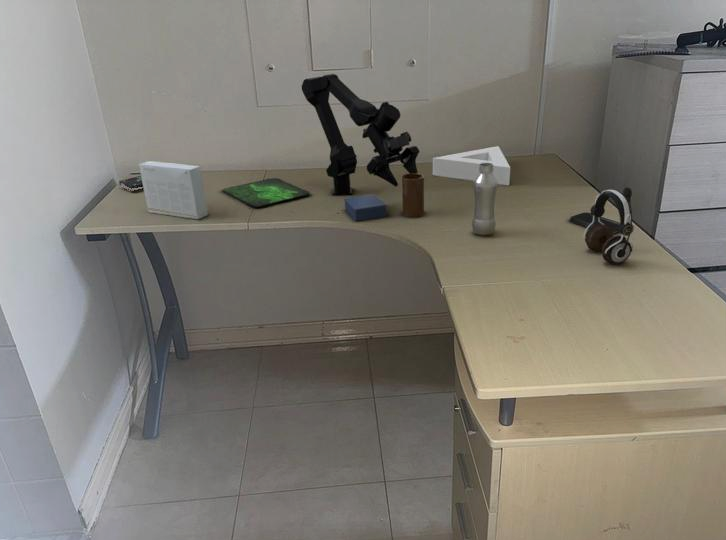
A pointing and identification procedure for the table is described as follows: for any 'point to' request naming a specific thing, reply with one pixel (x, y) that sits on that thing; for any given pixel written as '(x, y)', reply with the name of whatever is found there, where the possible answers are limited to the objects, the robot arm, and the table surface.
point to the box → (365, 207)
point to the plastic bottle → (484, 200)
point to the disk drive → (133, 183)
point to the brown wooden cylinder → (413, 194)
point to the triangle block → (473, 165)
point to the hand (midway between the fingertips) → (407, 182)
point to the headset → (602, 235)
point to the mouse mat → (265, 192)
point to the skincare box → (174, 189)
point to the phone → (587, 219)
